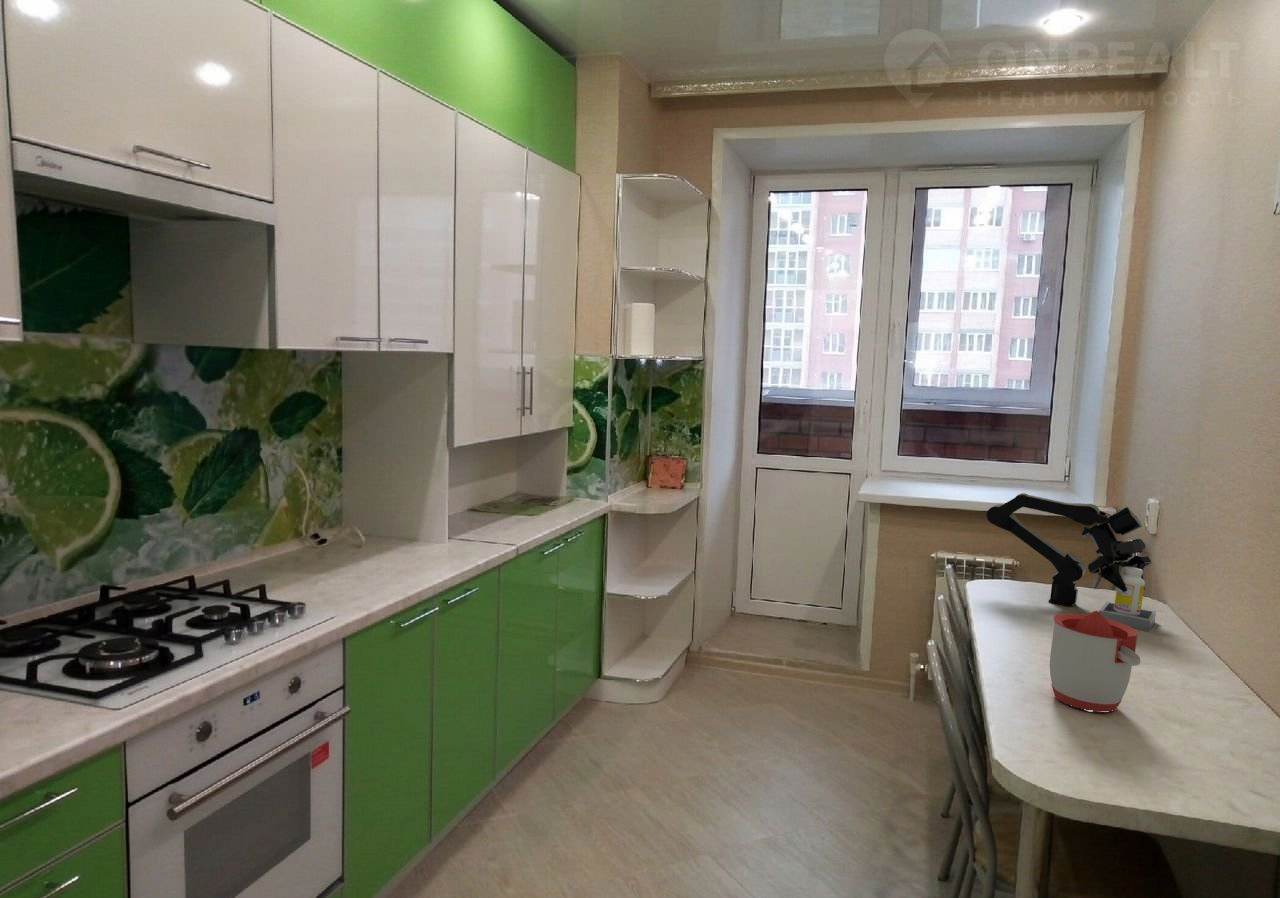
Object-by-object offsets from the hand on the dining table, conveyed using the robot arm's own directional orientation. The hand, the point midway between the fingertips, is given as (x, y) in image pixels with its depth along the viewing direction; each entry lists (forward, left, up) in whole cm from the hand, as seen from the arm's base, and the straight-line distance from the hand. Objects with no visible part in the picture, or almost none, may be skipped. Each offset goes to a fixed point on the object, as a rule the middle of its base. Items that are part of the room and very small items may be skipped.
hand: (1134, 590), depth 241 cm
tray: (-1, +1, -9) cm, 9 cm away
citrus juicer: (+2, -77, -10) cm, 78 cm away
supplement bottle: (-1, +1, -7) cm, 7 cm away
